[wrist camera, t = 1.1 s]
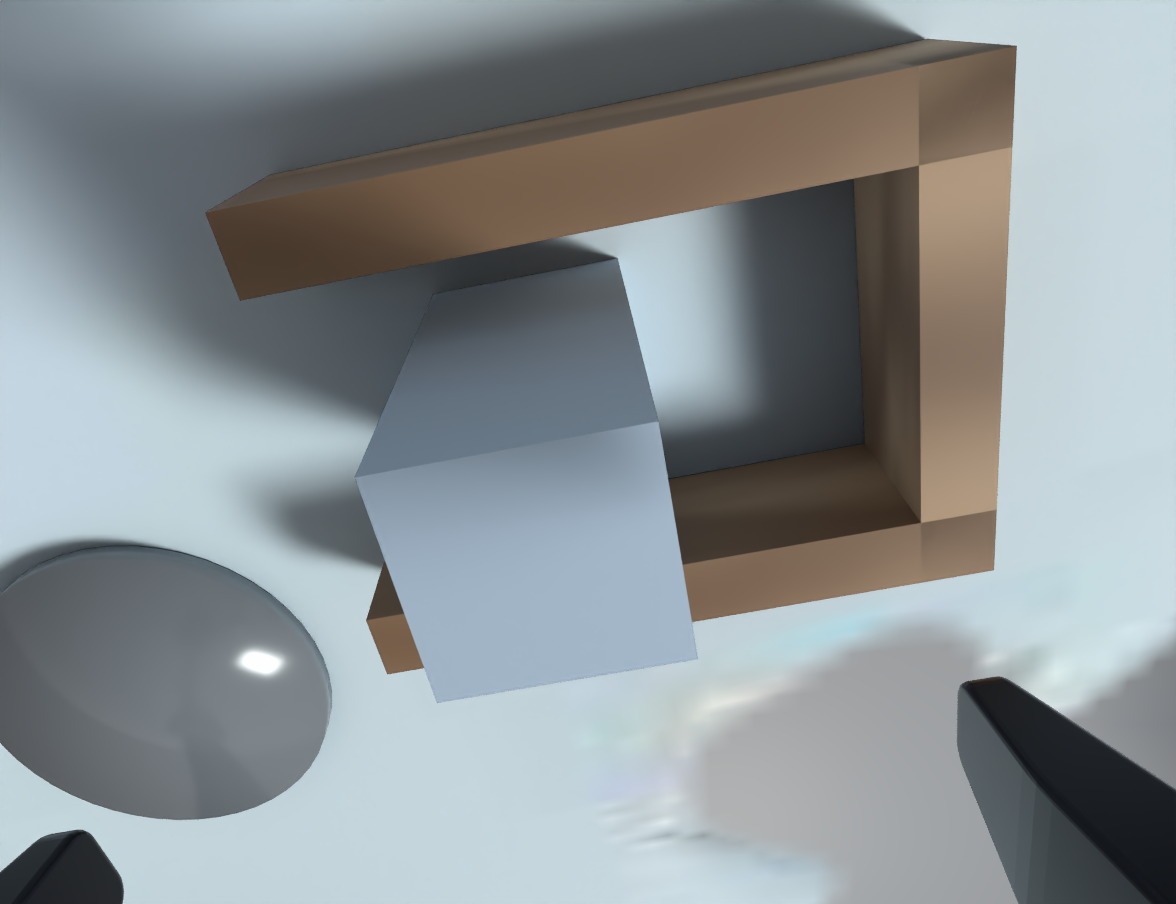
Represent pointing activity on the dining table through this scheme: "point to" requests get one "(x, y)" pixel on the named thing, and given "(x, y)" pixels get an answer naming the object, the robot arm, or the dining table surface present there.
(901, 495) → the frame
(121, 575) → the coaster
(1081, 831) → the robot arm
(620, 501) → the block
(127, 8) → the dining table surface
